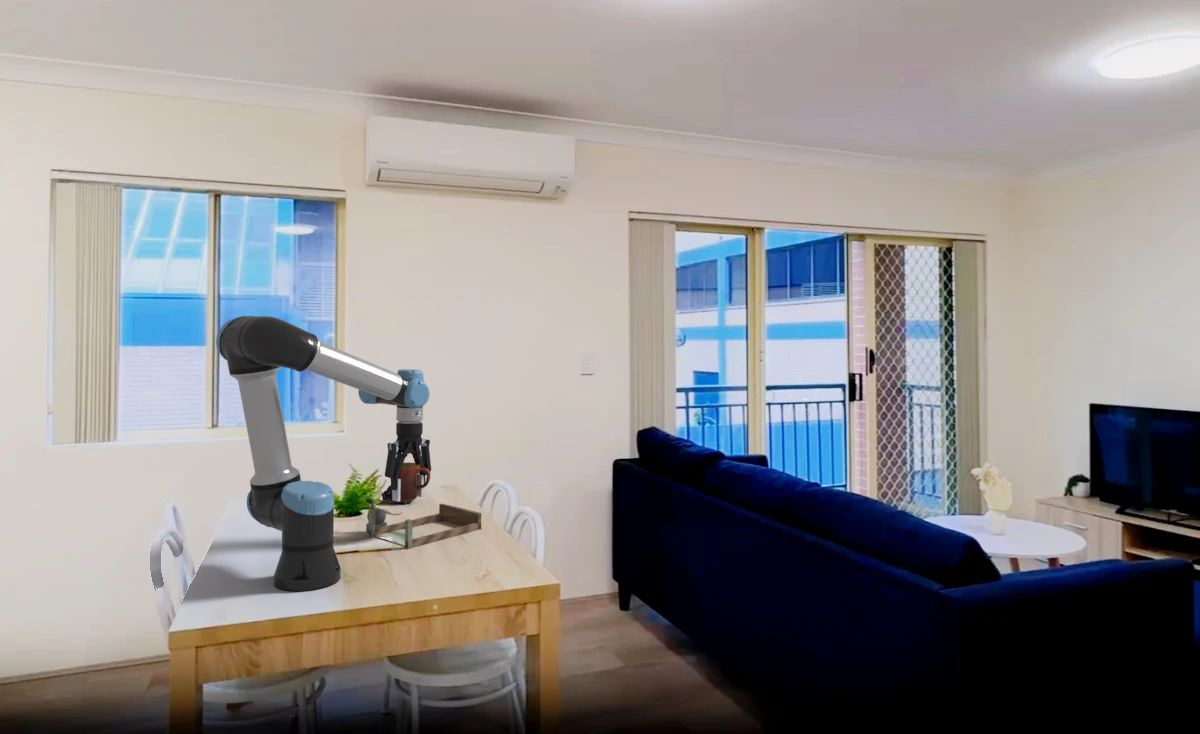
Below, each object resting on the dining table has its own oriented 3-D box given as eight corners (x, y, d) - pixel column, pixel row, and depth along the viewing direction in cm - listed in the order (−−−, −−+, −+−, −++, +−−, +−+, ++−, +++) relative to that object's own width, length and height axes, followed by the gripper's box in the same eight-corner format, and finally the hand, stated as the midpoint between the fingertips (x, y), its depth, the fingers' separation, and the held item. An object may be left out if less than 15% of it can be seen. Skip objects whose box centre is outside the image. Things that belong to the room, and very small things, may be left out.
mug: (384, 502, 212) (384, 467, 211) (396, 495, 220) (396, 461, 220) (424, 504, 210) (424, 469, 210) (434, 497, 219) (434, 463, 218)
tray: (408, 549, 204) (408, 514, 204) (355, 532, 219) (356, 500, 219) (481, 528, 226) (481, 497, 226) (429, 515, 241) (429, 485, 241)
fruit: (384, 510, 260) (425, 496, 265) (387, 512, 250) (430, 498, 256) (376, 482, 260) (417, 469, 265) (379, 483, 250) (422, 470, 256)
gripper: (388, 425, 203) (386, 506, 204) (445, 420, 220) (443, 495, 221) (372, 423, 208) (370, 502, 209) (429, 418, 224) (427, 491, 225)
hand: (407, 498), depth 215 cm, fingers closed on mug, 8 cm apart
